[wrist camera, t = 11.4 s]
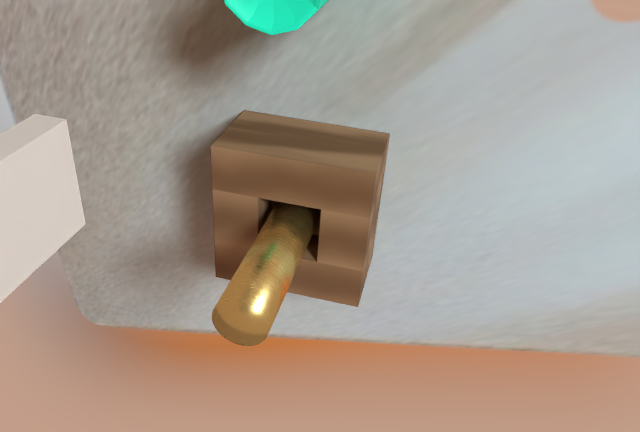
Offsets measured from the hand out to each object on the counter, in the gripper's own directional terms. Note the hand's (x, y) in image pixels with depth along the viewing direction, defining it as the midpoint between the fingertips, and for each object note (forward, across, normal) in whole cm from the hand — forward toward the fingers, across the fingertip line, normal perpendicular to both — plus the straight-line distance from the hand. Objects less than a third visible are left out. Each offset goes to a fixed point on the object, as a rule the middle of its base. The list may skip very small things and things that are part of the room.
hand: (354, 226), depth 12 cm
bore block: (+32, -8, -18) cm, 37 cm away
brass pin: (+28, -8, -18) cm, 34 cm away
